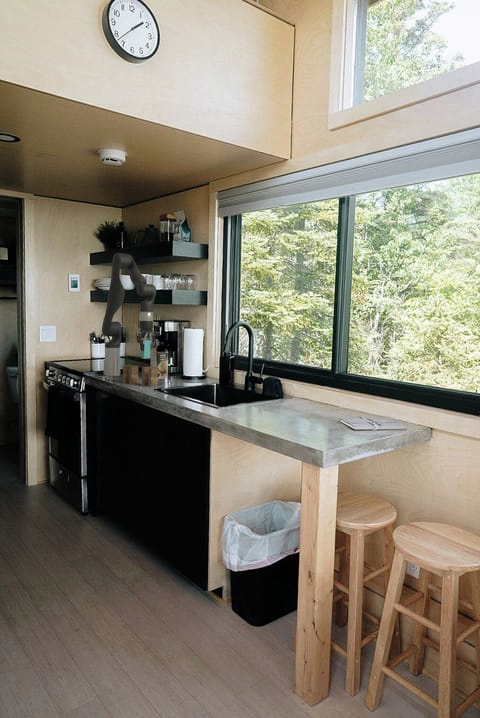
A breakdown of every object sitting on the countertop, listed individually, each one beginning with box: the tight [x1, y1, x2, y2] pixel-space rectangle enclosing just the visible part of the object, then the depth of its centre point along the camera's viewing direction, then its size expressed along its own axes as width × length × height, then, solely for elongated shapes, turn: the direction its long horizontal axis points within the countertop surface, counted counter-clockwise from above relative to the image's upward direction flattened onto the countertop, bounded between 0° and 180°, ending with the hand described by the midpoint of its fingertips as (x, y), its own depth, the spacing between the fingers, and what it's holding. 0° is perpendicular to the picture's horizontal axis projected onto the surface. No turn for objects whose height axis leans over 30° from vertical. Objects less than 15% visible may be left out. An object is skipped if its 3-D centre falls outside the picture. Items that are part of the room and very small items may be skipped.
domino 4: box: [141, 366, 151, 387], centre depth 291 cm, size 2×5×10 cm, turn 145°
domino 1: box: [122, 364, 133, 384], centre depth 299 cm, size 2×5×10 cm, turn 145°
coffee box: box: [150, 351, 169, 380], centre depth 321 cm, size 9×6×16 cm
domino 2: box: [128, 365, 139, 385], centre depth 297 cm, size 2×5×10 cm, turn 145°
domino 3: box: [141, 340, 151, 360], centre depth 294 cm, size 2×5×10 cm, turn 146°
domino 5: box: [147, 367, 159, 387], centre depth 288 cm, size 2×5×10 cm, turn 145°
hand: (145, 350), depth 294 cm, fingers closed on domino 3, 5 cm apart
